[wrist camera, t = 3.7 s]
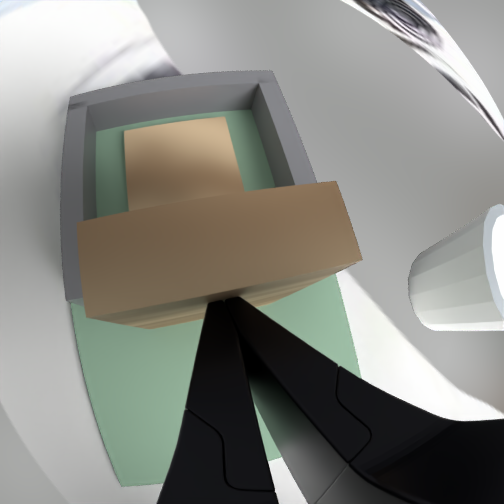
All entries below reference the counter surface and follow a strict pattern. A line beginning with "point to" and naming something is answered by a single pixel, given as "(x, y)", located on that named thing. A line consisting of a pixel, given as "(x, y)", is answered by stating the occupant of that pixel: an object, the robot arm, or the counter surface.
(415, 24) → the counter surface
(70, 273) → the pocket
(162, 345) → the mat
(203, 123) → the bookend
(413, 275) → the white cup
